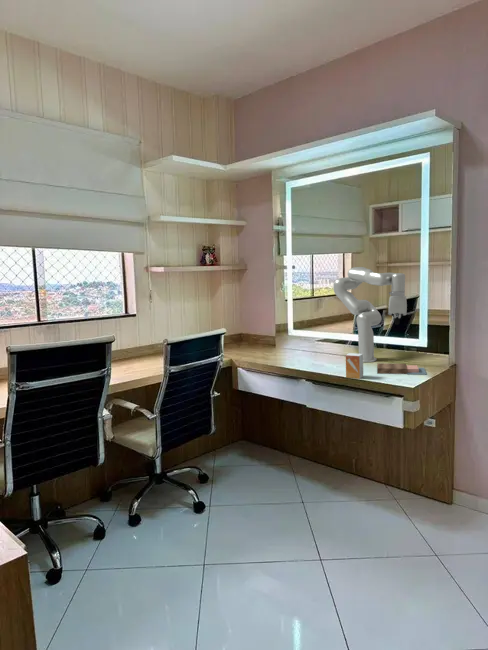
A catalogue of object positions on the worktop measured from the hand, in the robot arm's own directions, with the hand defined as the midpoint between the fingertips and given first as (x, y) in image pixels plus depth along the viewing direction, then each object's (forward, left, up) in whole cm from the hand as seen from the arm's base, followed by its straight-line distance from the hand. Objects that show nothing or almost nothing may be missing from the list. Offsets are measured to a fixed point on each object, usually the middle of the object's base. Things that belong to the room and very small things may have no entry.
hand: (397, 324), depth 261 cm
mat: (+9, -14, -25) cm, 30 cm away
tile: (+7, -14, -24) cm, 29 cm away
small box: (-24, -29, -26) cm, 46 cm away
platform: (-4, -14, -25) cm, 29 cm away
